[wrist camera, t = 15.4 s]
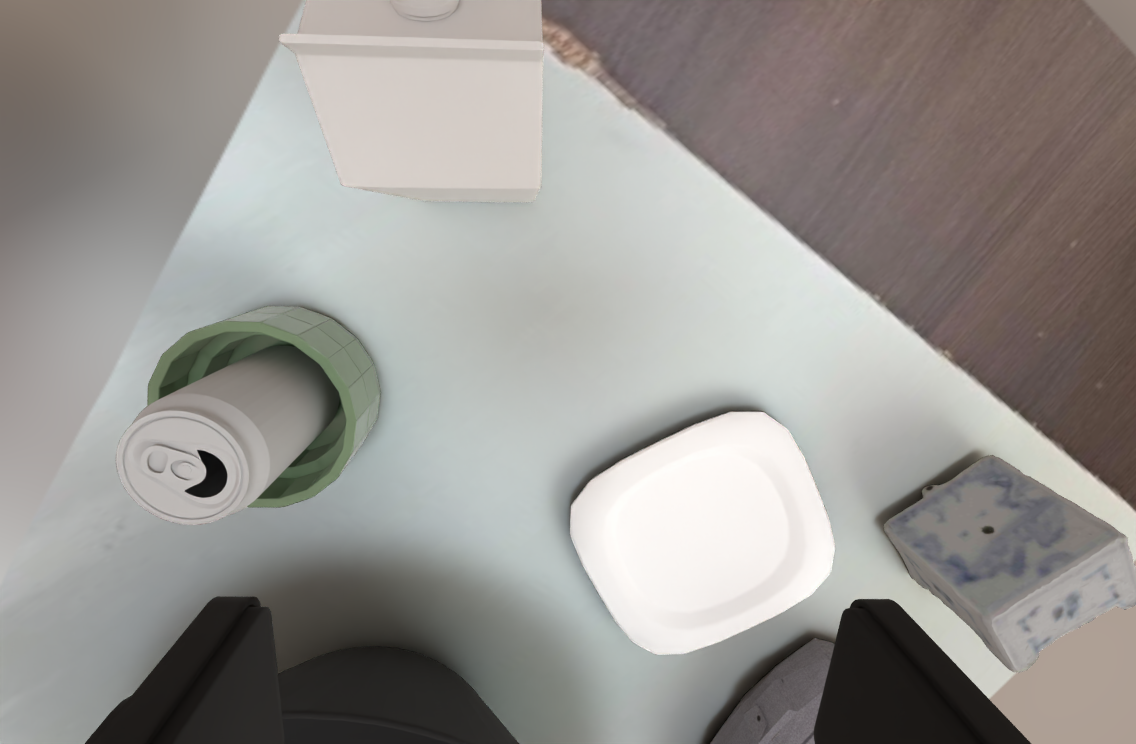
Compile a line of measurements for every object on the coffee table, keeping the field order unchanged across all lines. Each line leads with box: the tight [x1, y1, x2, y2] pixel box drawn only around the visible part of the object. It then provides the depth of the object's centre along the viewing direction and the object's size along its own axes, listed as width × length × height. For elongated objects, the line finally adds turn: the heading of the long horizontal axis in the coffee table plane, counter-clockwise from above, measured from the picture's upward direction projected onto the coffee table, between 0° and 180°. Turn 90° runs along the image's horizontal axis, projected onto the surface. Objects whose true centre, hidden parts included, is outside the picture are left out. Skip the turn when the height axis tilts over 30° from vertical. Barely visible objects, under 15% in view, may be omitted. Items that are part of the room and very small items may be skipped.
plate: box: [570, 411, 836, 655], centre depth 41 cm, size 18×18×2 cm
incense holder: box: [884, 455, 1136, 673], centre depth 38 cm, size 10×8×10 cm
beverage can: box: [116, 346, 339, 525], centre depth 30 cm, size 6×6×12 cm
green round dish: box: [148, 306, 381, 507], centre depth 33 cm, size 11×11×6 cm
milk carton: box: [279, 0, 544, 202], centre depth 24 cm, size 7×7×19 cm
